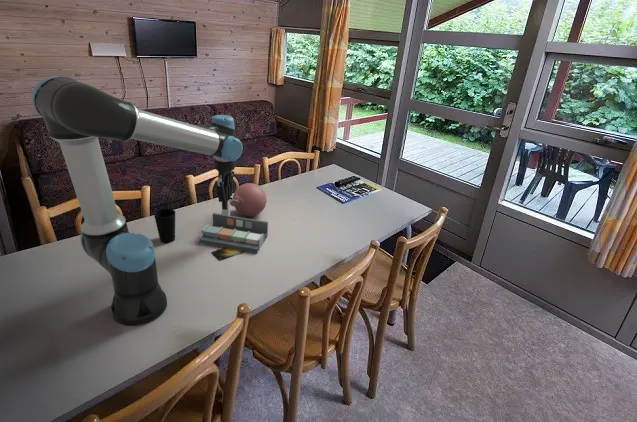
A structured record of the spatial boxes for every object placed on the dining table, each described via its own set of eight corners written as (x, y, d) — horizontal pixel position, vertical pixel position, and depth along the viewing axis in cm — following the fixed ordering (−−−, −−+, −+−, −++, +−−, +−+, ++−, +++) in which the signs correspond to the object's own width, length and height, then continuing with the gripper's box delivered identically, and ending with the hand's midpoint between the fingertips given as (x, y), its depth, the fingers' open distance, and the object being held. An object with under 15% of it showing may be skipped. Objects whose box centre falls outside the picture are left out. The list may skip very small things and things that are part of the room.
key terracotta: (229, 239, 145) (229, 235, 145) (218, 237, 146) (218, 233, 145) (234, 234, 150) (234, 229, 149) (223, 232, 150) (222, 228, 149)
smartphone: (210, 252, 140) (243, 240, 149) (210, 253, 140) (243, 241, 150) (219, 260, 135) (253, 248, 145) (219, 262, 136) (253, 249, 145)
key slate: (215, 237, 146) (215, 233, 145) (204, 235, 147) (204, 231, 146) (220, 231, 150) (220, 227, 149) (209, 229, 151) (209, 225, 150)
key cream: (257, 244, 144) (257, 240, 143) (245, 242, 145) (245, 238, 144) (261, 238, 148) (261, 234, 148) (249, 236, 149) (249, 232, 148)
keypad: (257, 253, 142) (257, 238, 139) (199, 243, 145) (198, 228, 142) (267, 236, 155) (268, 221, 152) (214, 227, 157) (213, 212, 154)
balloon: (217, 214, 168) (216, 184, 161) (253, 204, 181) (254, 175, 174) (235, 228, 158) (235, 196, 151) (272, 216, 171) (273, 186, 164)
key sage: (243, 242, 145) (243, 237, 144) (232, 240, 145) (232, 236, 144) (247, 236, 149) (247, 232, 148) (236, 234, 150) (236, 230, 149)
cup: (170, 246, 141) (168, 218, 136) (153, 242, 143) (149, 215, 137) (181, 236, 148) (179, 210, 143) (164, 233, 149) (161, 207, 144)
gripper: (227, 165, 127) (228, 224, 138) (240, 154, 139) (241, 209, 149) (207, 162, 128) (210, 221, 138) (221, 152, 139) (223, 206, 150)
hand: (226, 215), depth 144 cm, fingers closed
